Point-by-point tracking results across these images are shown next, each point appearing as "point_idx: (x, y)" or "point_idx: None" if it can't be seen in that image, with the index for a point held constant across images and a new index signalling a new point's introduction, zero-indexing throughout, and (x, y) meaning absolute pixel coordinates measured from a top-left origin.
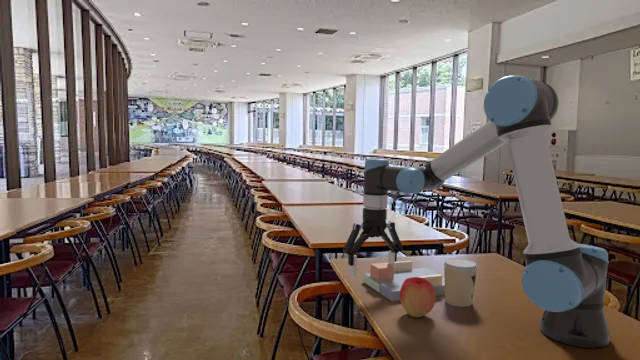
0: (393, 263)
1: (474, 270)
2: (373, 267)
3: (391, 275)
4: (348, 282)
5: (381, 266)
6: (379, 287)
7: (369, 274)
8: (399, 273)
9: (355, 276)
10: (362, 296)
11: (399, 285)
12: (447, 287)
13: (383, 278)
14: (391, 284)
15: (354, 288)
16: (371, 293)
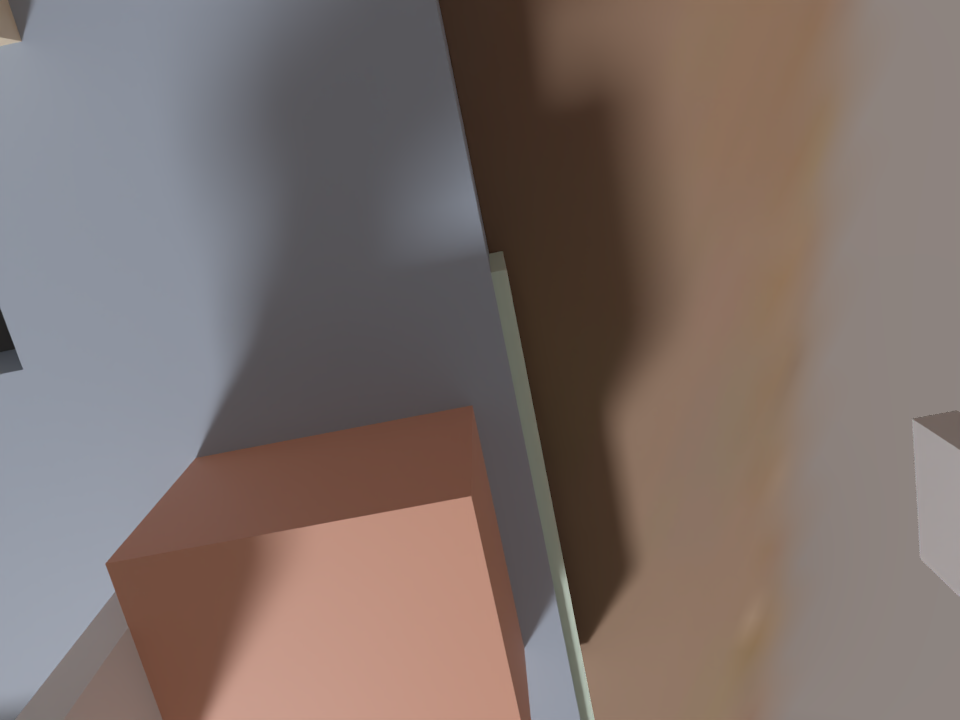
0: (77, 666)
1: None
2: (514, 673)
3: (216, 477)
4: (766, 678)
5: (369, 630)
6: (494, 264)
7: None
8: None
9: (925, 418)
10: (776, 146)
11: (175, 147)
12: None
13: (378, 433)
14: (303, 212)
15: (770, 463)
16: (606, 251)
